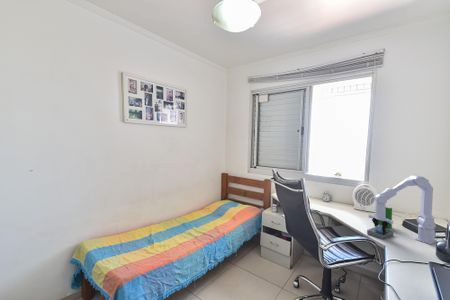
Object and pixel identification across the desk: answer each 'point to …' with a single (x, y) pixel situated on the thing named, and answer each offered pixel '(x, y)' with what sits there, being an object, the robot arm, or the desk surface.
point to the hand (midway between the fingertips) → (380, 230)
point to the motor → (387, 215)
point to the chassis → (380, 233)
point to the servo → (379, 228)
